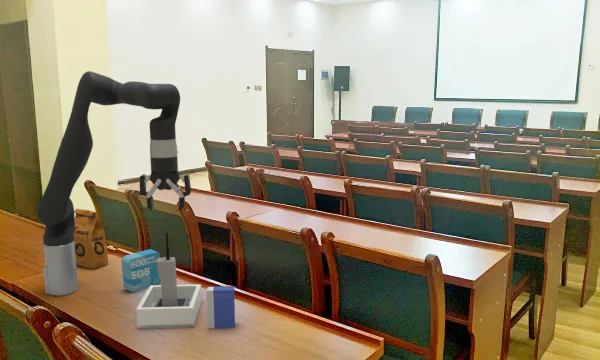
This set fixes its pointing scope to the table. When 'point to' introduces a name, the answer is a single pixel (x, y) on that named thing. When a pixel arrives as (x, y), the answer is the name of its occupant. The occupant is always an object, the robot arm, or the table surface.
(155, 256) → the data package
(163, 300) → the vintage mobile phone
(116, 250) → the table surface
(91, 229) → the coffee package
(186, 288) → the box
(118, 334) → the table surface
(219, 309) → the walkman
